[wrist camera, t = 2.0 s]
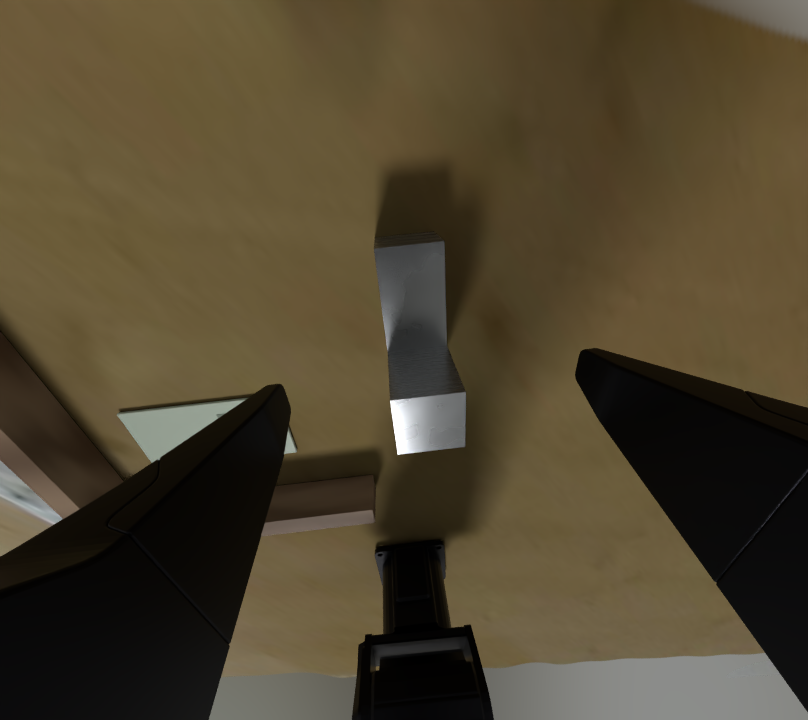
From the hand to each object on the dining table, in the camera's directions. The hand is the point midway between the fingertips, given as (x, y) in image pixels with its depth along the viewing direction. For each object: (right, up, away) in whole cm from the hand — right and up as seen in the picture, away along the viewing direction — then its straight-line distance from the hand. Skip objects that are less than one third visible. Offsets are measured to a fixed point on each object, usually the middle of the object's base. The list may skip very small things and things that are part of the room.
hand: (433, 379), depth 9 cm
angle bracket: (0, +4, +8) cm, 9 cm away
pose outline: (-14, -4, +12) cm, 19 cm away
